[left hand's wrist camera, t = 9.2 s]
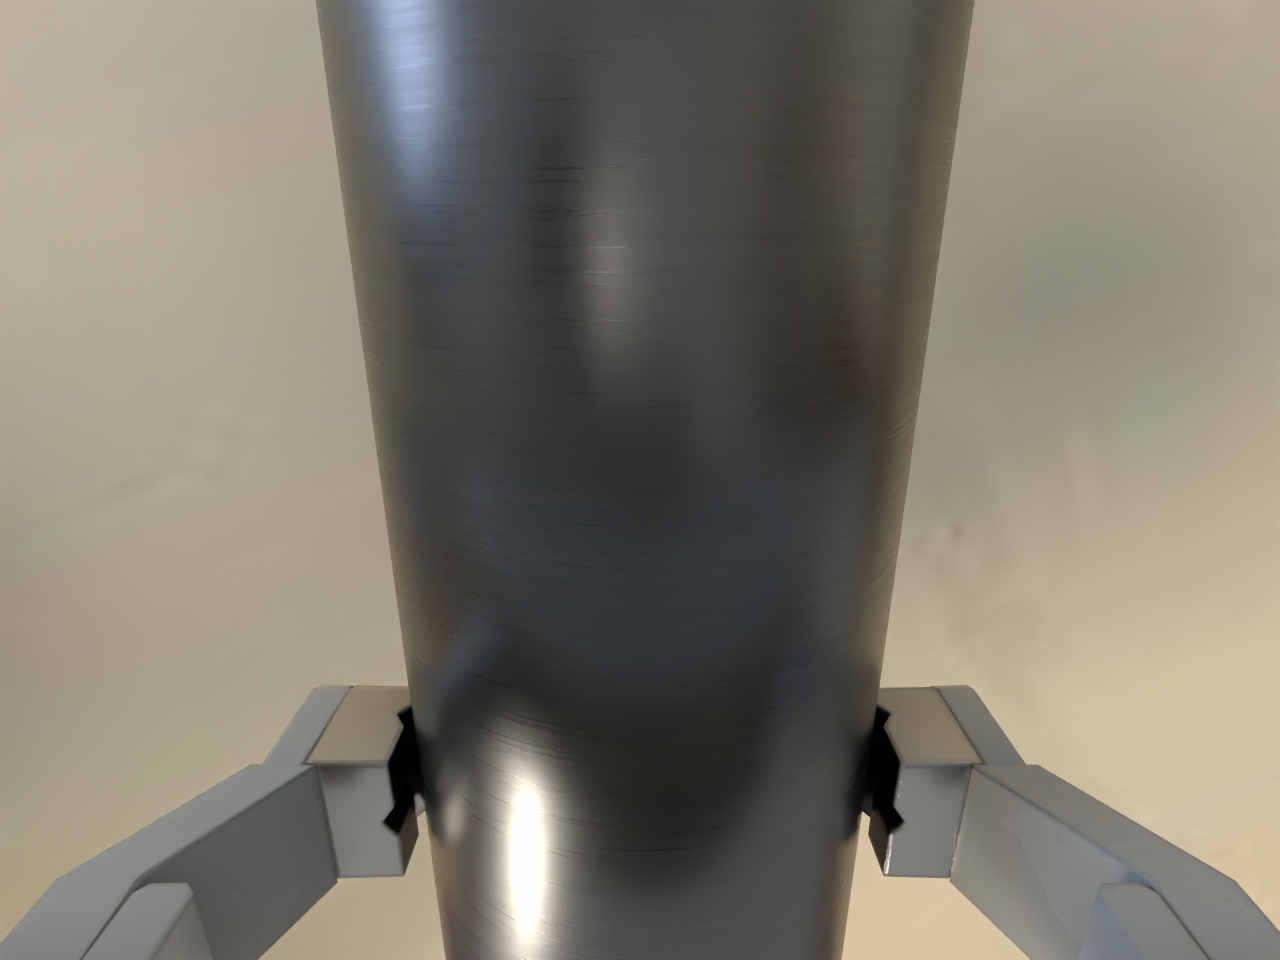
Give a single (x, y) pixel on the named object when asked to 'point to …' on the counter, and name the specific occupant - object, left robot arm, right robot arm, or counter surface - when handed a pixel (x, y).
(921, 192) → the rod
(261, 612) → the counter surface
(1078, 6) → the counter surface
